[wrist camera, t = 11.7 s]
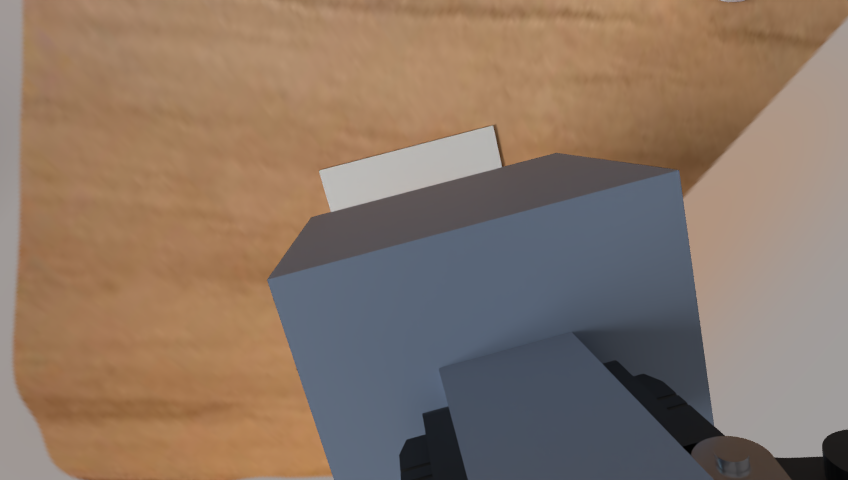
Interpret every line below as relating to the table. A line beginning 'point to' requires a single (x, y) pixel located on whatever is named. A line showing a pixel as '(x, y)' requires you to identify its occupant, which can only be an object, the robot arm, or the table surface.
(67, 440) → the table surface
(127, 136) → the table surface
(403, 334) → the cover
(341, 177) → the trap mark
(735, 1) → the can
